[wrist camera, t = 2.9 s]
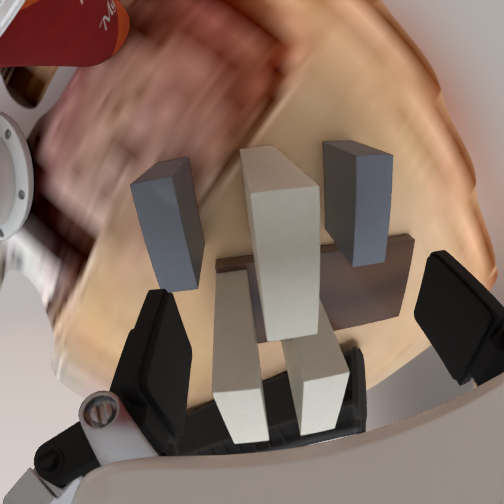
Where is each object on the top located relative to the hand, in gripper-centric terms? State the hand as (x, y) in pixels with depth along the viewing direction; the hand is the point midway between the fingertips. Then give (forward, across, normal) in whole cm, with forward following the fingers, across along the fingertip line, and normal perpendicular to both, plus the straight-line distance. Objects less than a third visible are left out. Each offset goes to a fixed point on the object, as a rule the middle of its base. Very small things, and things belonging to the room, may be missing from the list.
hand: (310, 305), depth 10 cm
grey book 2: (+13, -5, 0) cm, 14 cm away
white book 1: (+12, +4, +9) cm, 15 cm away
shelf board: (+13, -4, +9) cm, 16 cm away
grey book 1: (+13, +7, 0) cm, 14 cm away
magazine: (+13, +5, +25) cm, 28 cm away
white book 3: (+12, -1, +9) cm, 15 cm away
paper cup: (+13, +11, -15) cm, 23 cm away
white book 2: (+13, +1, 0) cm, 13 cm away
